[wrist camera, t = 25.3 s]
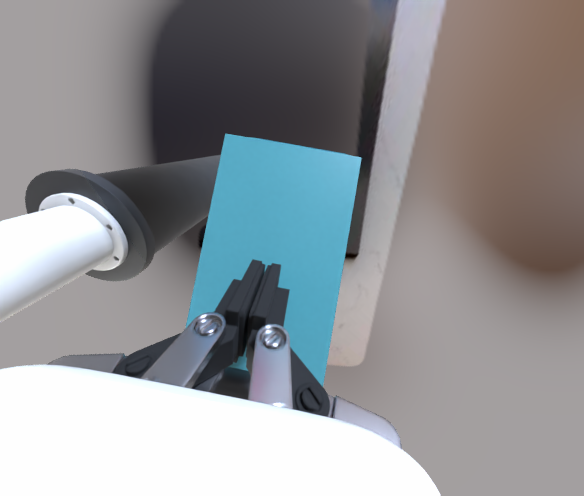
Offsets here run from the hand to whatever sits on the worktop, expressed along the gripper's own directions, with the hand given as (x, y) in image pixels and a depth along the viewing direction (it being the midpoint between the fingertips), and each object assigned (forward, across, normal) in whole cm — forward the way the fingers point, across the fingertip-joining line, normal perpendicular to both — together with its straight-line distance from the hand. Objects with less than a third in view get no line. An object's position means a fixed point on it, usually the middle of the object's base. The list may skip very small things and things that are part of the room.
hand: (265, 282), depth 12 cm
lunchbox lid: (+4, 0, +1) cm, 4 cm away
